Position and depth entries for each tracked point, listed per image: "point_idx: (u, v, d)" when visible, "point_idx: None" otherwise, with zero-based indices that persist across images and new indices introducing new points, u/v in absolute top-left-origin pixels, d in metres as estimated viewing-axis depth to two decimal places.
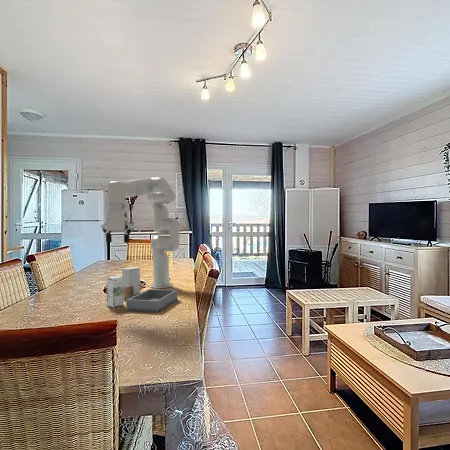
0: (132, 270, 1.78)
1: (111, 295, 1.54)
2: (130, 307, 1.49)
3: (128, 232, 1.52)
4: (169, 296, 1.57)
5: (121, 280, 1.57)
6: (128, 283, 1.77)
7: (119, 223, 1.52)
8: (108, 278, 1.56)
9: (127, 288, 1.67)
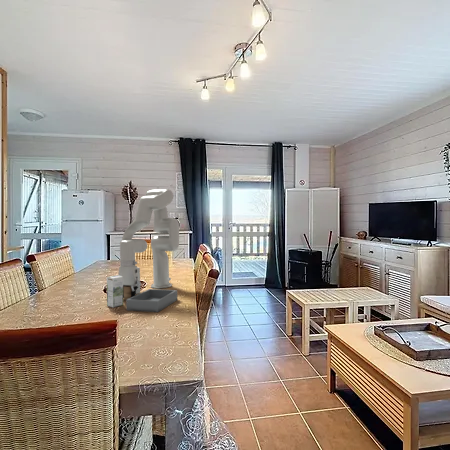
0: None
1: (111, 295, 1.54)
2: (130, 307, 1.49)
3: (135, 289, 1.67)
4: (169, 296, 1.57)
5: (121, 280, 1.57)
6: None
7: (130, 279, 1.66)
8: (108, 278, 1.56)
9: (127, 288, 1.67)
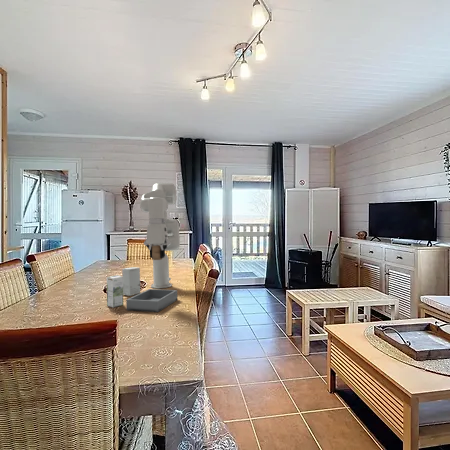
0: (132, 270, 1.78)
1: (111, 295, 1.54)
2: (130, 307, 1.49)
3: (164, 248, 1.60)
4: (169, 296, 1.57)
5: (121, 280, 1.57)
6: (128, 283, 1.77)
7: (159, 237, 1.59)
8: (108, 278, 1.56)
9: (156, 247, 1.60)
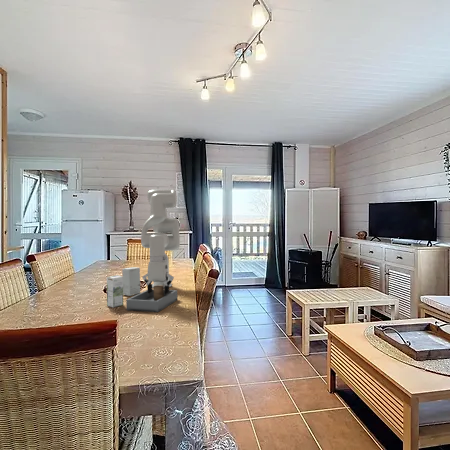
0: (132, 270, 1.78)
1: (111, 295, 1.54)
2: (130, 307, 1.49)
3: (168, 284, 1.60)
4: (169, 296, 1.57)
5: (121, 280, 1.57)
6: (128, 283, 1.77)
7: (160, 275, 1.60)
8: (108, 278, 1.56)
9: (157, 288, 1.60)
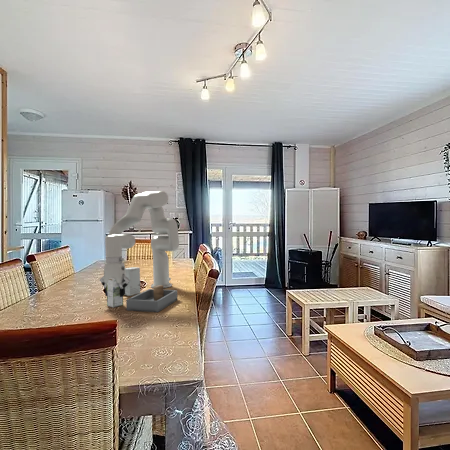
0: (132, 270, 1.78)
1: (111, 295, 1.54)
2: (130, 307, 1.49)
3: (124, 286, 1.55)
4: (169, 296, 1.57)
5: None
6: (128, 283, 1.77)
7: (116, 277, 1.54)
8: None
9: (157, 288, 1.60)
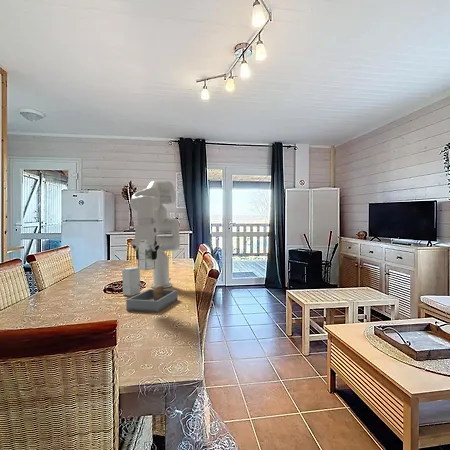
0: (132, 270, 1.78)
1: (143, 258, 1.49)
2: (130, 307, 1.49)
3: (156, 249, 1.49)
4: (169, 296, 1.57)
5: None
6: (128, 283, 1.77)
7: (148, 238, 1.49)
8: None
9: (157, 288, 1.60)
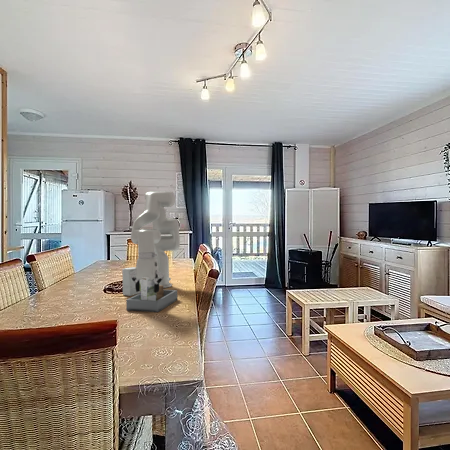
0: (132, 270, 1.78)
1: (145, 295, 1.49)
2: (130, 307, 1.49)
3: (158, 282, 1.50)
4: (169, 296, 1.57)
5: None
6: (128, 283, 1.77)
7: (149, 273, 1.49)
8: None
9: None
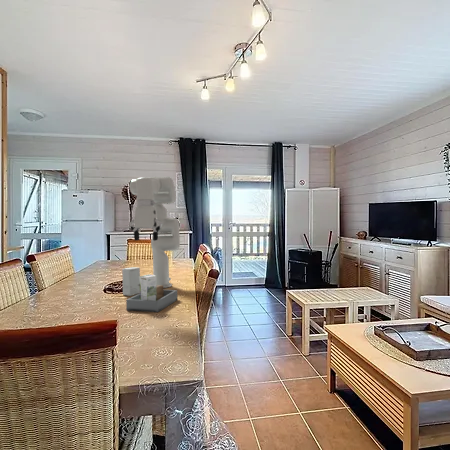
0: (132, 270, 1.78)
1: (145, 295, 1.49)
2: (130, 307, 1.49)
3: (157, 229, 1.49)
4: (169, 296, 1.57)
5: (154, 279, 1.52)
6: (128, 283, 1.77)
7: (148, 220, 1.48)
8: (141, 277, 1.51)
9: (157, 288, 1.60)
